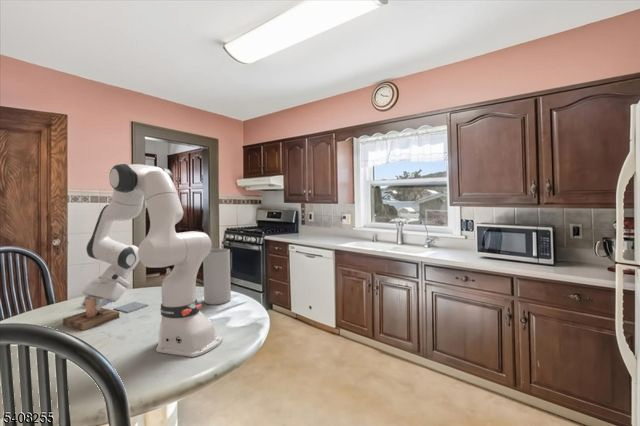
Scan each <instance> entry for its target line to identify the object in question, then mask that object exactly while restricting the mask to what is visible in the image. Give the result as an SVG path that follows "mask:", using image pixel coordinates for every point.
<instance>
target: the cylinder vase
mask: <svg viewBox="0 0 640 426" xmlns="http://www.w3.org/2000/svg"><path fill="white" fill-rule="evenodd" d="M202 264H203V266H202V267H203V271H202V272H203V300H204V304H206V305H212V306H213V305H215V306H217V305H222V304H226V303H228V302H229V301H231V299H232V295H231V291H232V288H231V287H232V286H231V250H230V249H229V248H211V251H210V253H209V254H208V255H207V256H206V257H205V259H204V260H203V262H202Z"/></svg>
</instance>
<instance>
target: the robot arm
mask: <svg viewBox="0 0 640 426" xmlns="http://www.w3.org/2000/svg"><path fill="white" fill-rule="evenodd" d="M109 171H110V172H109V176H108V177H109V184H110V186H111V187H112V188H113V192H112V196H111V199H110V200H111V201H110V203H109V204H107V205H105V206H103V208H102V209H101V211H100V213H99V215H98V217H97V220H96V222H95V226H94V229H93V233H92V235H91V238H90V239H89V241H88V242H87V244H86V247H85V248H86V250H85V251H86V254H87V255H88V257H89V258H91V259H94V260H99V261H101V262H105V263H107V264H110V265H109V266H108V267H107V268H106V269H105V271H104V272H103V273H102V274H101V275H100V276H98V277H96V278H93V279H92V280H91V281H90V282H89V283H88V284H87V285H86V286H85V287H84V288H83V289H82V292H81V293H82V294H83V295H85V296H84V298H83V301H82V303H81V304H80V305H81V306H82V307H84V308H86V302H85V301H86V300H88V299H92V297H93V298H98V299H102V301H101V302H100V303H99V304H97V305H96V306H95V307H94V308H95V309H96V310H100V309H101V308H103V307H104V306H105V305H106V306H107V304H109V303H108V302H109V301H111V302H110V303H115V302H117V301H118V300H119V299H120V298H121V297H122V296H123V294H124V293H125V291H126V290H127V289H128V288H129V286H130V285H131V283H130V282H129V281H128V280H127V279H128V277H129V274H130V273H131V272H132V271H133V270H134V269H135V268H136V267H137V265H138V263H139V262H141V264H142V265H143V266H144V267H146V268H167V267H170V266H173V268H172V270H171V272H170V273H169V274H168V275H167V276H165V277H164V279H163V280H162V281H161V282H162V283H161V304H160V315H161V321H160V325H159V329H158V330H159V331H158V332H159V333H158V342H157V347H156V349H155V351H156V353H163V354H170V355H176V356H184V357H193V358H194V357H198V356H201V355H204V354H206V353H207V352H210V351H211V350H213V349H215V348H216V347H218V346H219V345H221V343H222V341H223V336H221V335H219V334H216V328H215V326H214V323H213V322H212V321H211V319H209V318H207V316H206V315H205V314H204V313H202V312H201V308H202V307H203V306H202V303H199V302H198V300H197V298H196V296H197V295H196V290H197V287H196V286H197V276H198V273H199V269H200V267H201V266H202V264H203V260H204V259H205V257H206V256H207V255H208V254H209V253H210V251H211V249H212V244H213V243H212V240H211V238H210V236H209V235H208V234H207V233H206V232H203V231H193V230H191V231H184V232H177V231H176V224H178V223H179V222H180V221H181V220H182V219H183V217H184V209H183V207H182V203H181V200H180V197H179V194H178V191H177V188H176V186H175V183H174V175H173V174H172V173H173V172H171V170H170V168H166V167H163V166H155V165H147V164H139V163H136V164H135V163H132V164H127V163H120V164H115V165H114V166H112V168H111V169H110V170H109ZM144 202H145V205H146V208H147V212H148V217H149V221H150V222H149V225H150V226H149V230H148V233H147V235H146V237H145V238H144V239H143V240H142V241H141V242H140V244H139V245H138V246H137V245H134V244H129V245H128V244H125V243H122V242H120V241H117V240H114V239H112V238H111V237H110V236H109V234H110V230H111V228H112V224H113V223H114V221H116V222H117V221H121V222H122V221H129V220H132V219H135V218H136V217H138V216H139V215H140V214H141V213H142V209H143V205H144Z"/></svg>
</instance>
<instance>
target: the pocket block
mask: <svg viewBox="0 0 640 426" xmlns="http://www.w3.org/2000/svg"><path fill="white" fill-rule="evenodd" d="M119 318H120V311H117V310H114V309H113V310H112V309H108V308H103V307H102V308H101V309H100V310H97V316H96V317H93V318H90V319H86V311H83V312H80V313H76V314H72V315H70V316H66V317H63V318H62V325H63V326H67V327H70V328H72V329H76V330H79V331H82V332H83V331H86V330H89V329H90V330H91V329H93V328H95V327H98V326H100V325H103V324H106V323H108V322H111V321H114V320H116V319H119Z"/></svg>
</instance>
